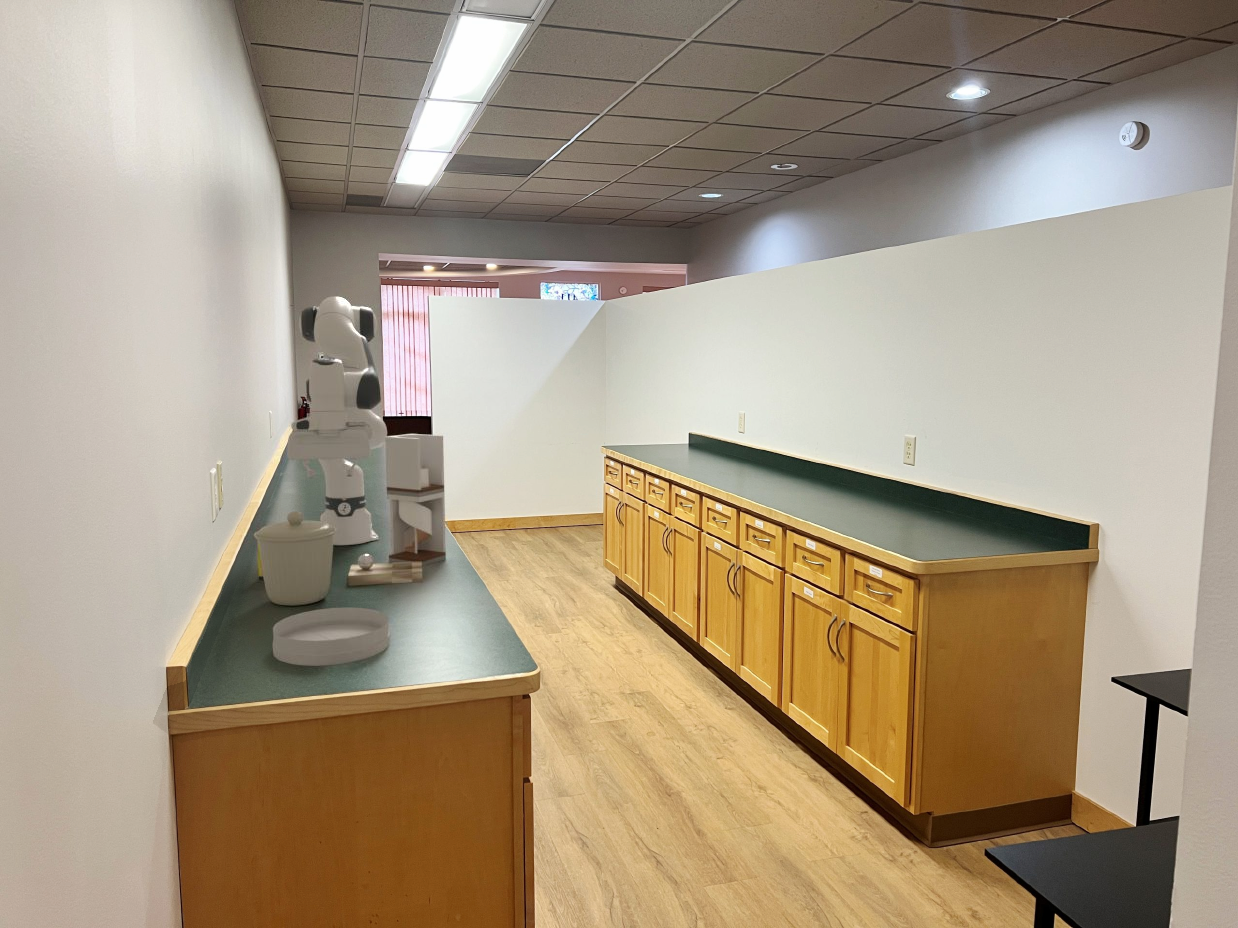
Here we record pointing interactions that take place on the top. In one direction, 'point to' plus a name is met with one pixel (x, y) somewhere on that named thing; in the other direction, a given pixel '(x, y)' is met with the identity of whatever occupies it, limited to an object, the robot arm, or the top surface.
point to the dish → (331, 636)
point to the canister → (296, 559)
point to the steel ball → (365, 561)
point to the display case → (416, 497)
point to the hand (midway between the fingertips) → (330, 476)
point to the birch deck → (386, 573)
